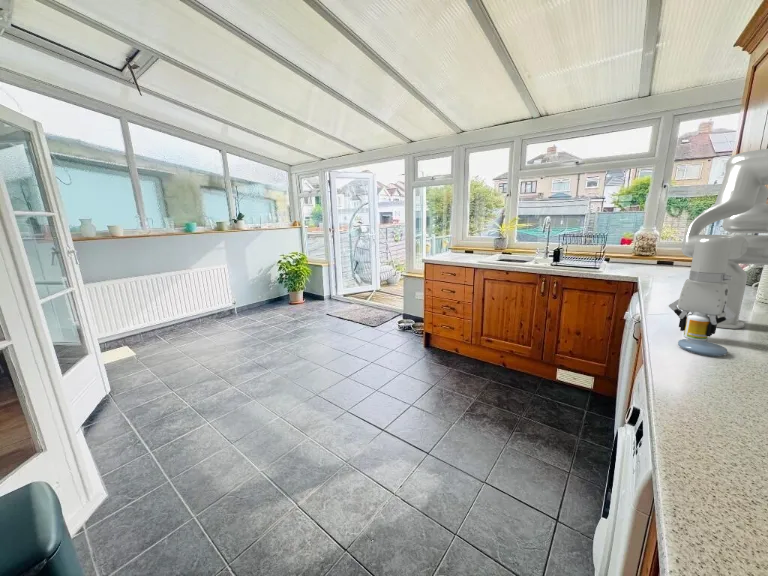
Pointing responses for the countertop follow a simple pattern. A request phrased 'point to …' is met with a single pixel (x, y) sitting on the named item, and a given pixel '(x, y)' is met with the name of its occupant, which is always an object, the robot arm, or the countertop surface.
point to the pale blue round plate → (702, 347)
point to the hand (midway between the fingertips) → (695, 332)
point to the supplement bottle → (696, 326)
